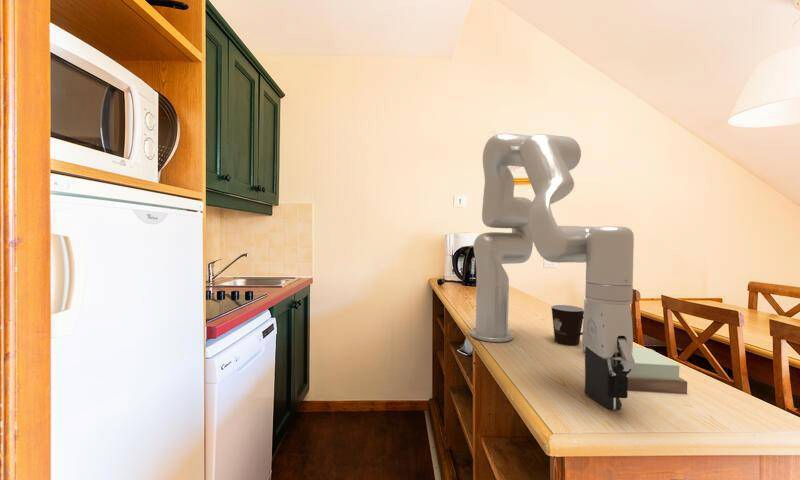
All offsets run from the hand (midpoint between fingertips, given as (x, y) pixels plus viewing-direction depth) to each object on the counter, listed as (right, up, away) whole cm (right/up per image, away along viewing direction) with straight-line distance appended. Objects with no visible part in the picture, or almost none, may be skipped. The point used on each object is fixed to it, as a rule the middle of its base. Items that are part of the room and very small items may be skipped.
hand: (606, 386), depth 65 cm
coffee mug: (+10, -2, +34) cm, 36 cm away
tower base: (+13, -3, +11) cm, 17 cm away
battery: (0, -3, 0) cm, 3 cm away
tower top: (+13, 0, +10) cm, 16 cm away
